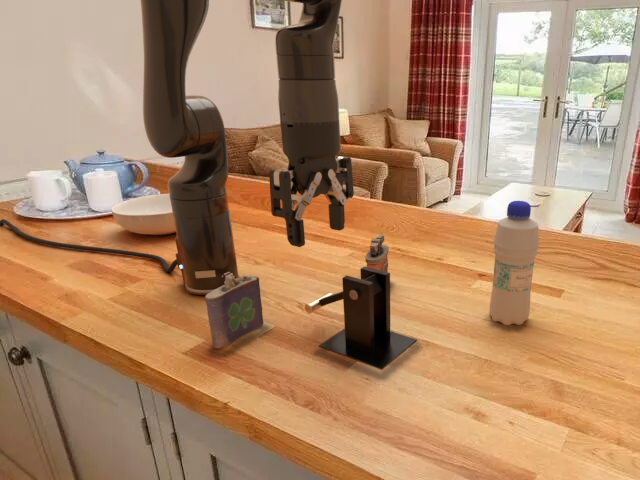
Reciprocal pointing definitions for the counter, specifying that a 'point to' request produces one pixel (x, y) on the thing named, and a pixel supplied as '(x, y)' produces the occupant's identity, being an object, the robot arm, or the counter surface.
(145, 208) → the serving bowl
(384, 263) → the lighter
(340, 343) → the bracket
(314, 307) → the lever
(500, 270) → the bottle
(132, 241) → the counter surface
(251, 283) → the flask
